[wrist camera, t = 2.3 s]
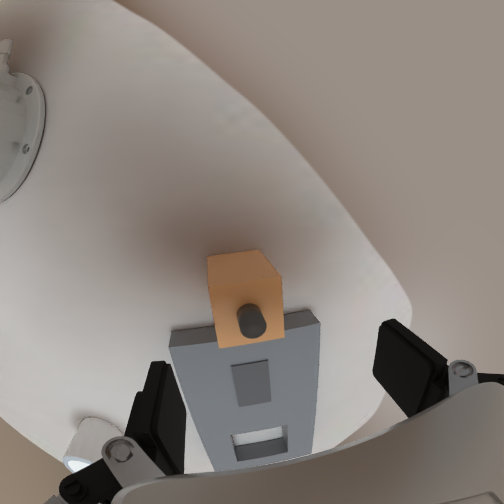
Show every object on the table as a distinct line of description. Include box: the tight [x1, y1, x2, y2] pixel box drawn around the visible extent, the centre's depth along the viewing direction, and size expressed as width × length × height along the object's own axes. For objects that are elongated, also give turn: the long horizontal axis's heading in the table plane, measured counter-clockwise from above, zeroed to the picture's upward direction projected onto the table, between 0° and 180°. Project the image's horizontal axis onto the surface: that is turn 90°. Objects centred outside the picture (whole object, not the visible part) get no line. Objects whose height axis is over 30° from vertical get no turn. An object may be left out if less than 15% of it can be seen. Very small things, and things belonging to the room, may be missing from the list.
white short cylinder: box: [63, 417, 123, 473], centre depth 20 cm, size 7×7×7 cm
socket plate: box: [169, 310, 320, 471], centre depth 24 cm, size 20×12×3 cm, turn 6°
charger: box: [207, 249, 285, 348], centre depth 17 cm, size 4×4×8 cm
